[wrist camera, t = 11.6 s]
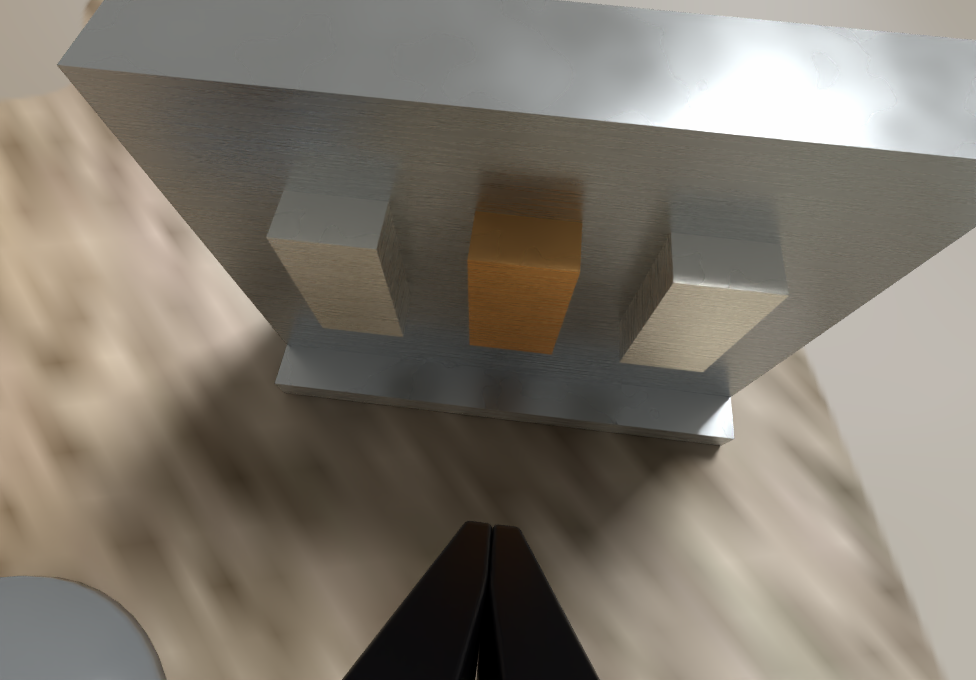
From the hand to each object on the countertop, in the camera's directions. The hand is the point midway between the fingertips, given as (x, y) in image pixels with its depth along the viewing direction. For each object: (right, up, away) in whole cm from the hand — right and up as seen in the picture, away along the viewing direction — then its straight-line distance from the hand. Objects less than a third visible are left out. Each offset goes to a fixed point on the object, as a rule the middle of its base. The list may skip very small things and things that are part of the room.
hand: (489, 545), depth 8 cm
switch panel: (+1, +3, +12) cm, 12 cm away
